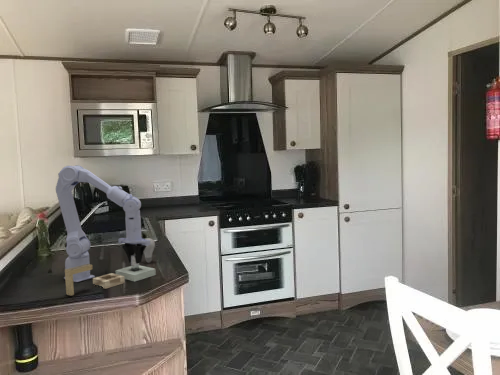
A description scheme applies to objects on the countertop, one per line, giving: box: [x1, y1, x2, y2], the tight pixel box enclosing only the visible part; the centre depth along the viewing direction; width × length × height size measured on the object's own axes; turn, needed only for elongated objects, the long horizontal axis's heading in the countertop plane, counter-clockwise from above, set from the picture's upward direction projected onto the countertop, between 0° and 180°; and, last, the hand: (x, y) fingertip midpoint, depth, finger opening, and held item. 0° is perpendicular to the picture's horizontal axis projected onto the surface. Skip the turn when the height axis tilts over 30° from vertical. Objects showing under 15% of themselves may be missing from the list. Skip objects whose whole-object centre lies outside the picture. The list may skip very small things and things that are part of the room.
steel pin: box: [130, 253, 140, 272], centre depth 155 cm, size 3×3×7 cm
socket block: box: [92, 272, 126, 289], centre depth 146 cm, size 8×8×2 cm
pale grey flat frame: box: [114, 264, 157, 282], centre depth 156 cm, size 12×10×2 cm
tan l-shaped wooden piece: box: [64, 264, 93, 296], centre depth 137 cm, size 3×8×9 cm, turn 143°
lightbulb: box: [143, 237, 156, 264], centre depth 175 cm, size 6×6×11 cm
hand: (135, 262), depth 155 cm, fingers closed on steel pin, 3 cm apart
